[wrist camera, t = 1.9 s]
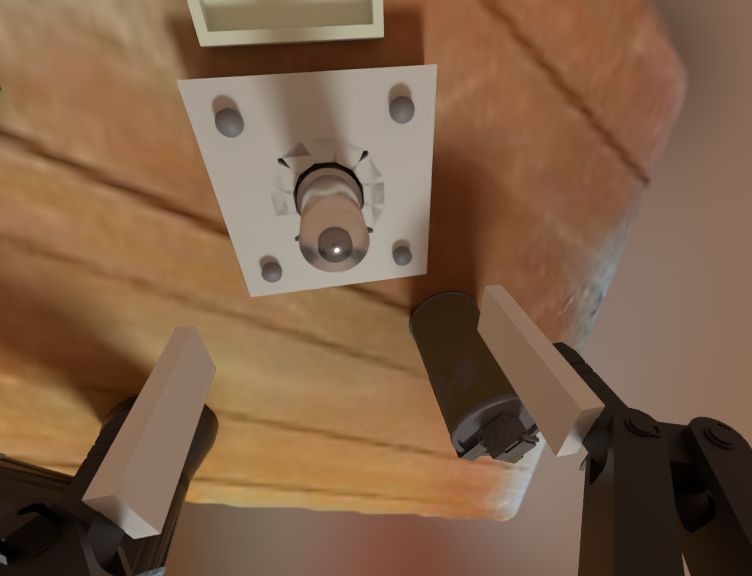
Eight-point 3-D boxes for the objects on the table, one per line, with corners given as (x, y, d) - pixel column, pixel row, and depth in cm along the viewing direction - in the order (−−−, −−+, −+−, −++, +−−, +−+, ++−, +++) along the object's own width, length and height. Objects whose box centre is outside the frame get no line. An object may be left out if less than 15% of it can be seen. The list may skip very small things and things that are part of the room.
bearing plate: (255, 280, 38) (249, 301, 34) (191, 79, 26) (172, 80, 23) (418, 259, 40) (428, 277, 36) (424, 65, 28) (440, 64, 25)
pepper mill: (304, 218, 34) (299, 289, 23) (293, 160, 31) (281, 210, 20) (358, 212, 35) (380, 278, 24) (354, 154, 31) (376, 200, 20)
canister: (439, 279, 42) (519, 411, 26) (492, 307, 46) (588, 434, 30) (393, 335, 46) (437, 477, 30) (445, 355, 51) (507, 489, 34)
